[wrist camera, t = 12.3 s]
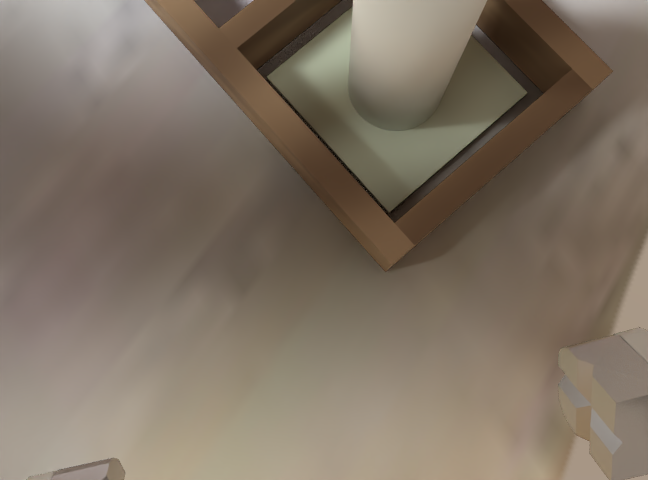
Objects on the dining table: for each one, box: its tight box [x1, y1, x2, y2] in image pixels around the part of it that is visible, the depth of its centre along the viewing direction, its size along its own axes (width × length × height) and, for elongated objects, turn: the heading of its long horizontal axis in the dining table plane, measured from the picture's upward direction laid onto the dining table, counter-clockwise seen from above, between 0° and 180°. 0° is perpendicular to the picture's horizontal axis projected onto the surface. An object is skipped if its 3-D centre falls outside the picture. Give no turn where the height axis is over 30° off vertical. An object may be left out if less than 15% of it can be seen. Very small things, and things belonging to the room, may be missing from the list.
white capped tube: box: [348, 0, 487, 131], centre depth 22 cm, size 4×4×12 cm
